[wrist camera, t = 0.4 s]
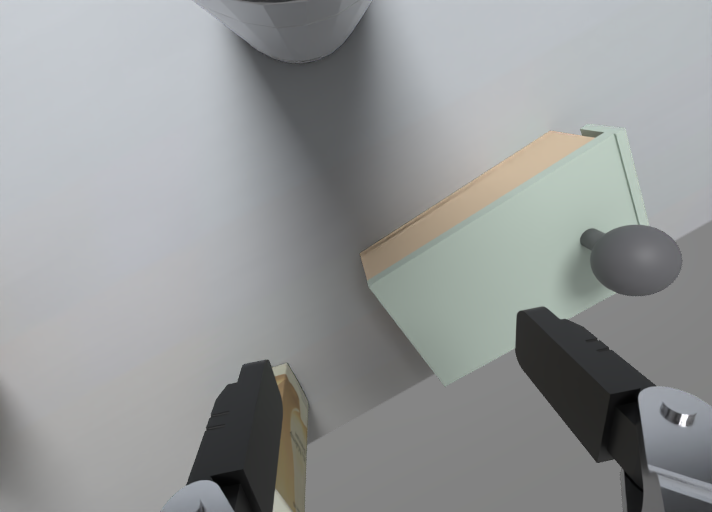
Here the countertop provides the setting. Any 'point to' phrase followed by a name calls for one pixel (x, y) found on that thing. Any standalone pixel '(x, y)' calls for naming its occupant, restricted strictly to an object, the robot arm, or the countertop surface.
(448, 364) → the lid
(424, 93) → the countertop surface
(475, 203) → the beige wooden open box
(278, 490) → the skincare box
